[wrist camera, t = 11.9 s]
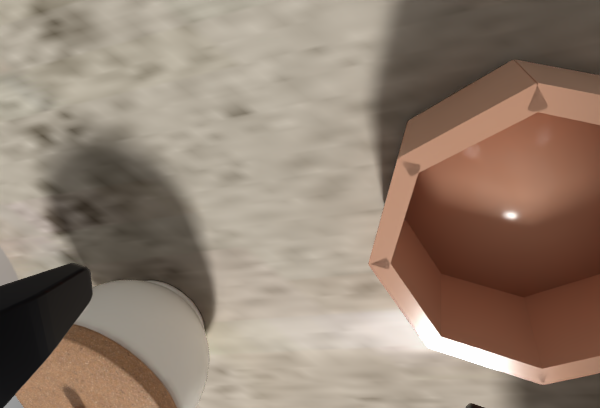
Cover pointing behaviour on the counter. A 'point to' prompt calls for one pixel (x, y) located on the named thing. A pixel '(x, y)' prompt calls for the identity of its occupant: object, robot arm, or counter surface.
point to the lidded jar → (126, 352)
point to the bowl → (501, 223)
